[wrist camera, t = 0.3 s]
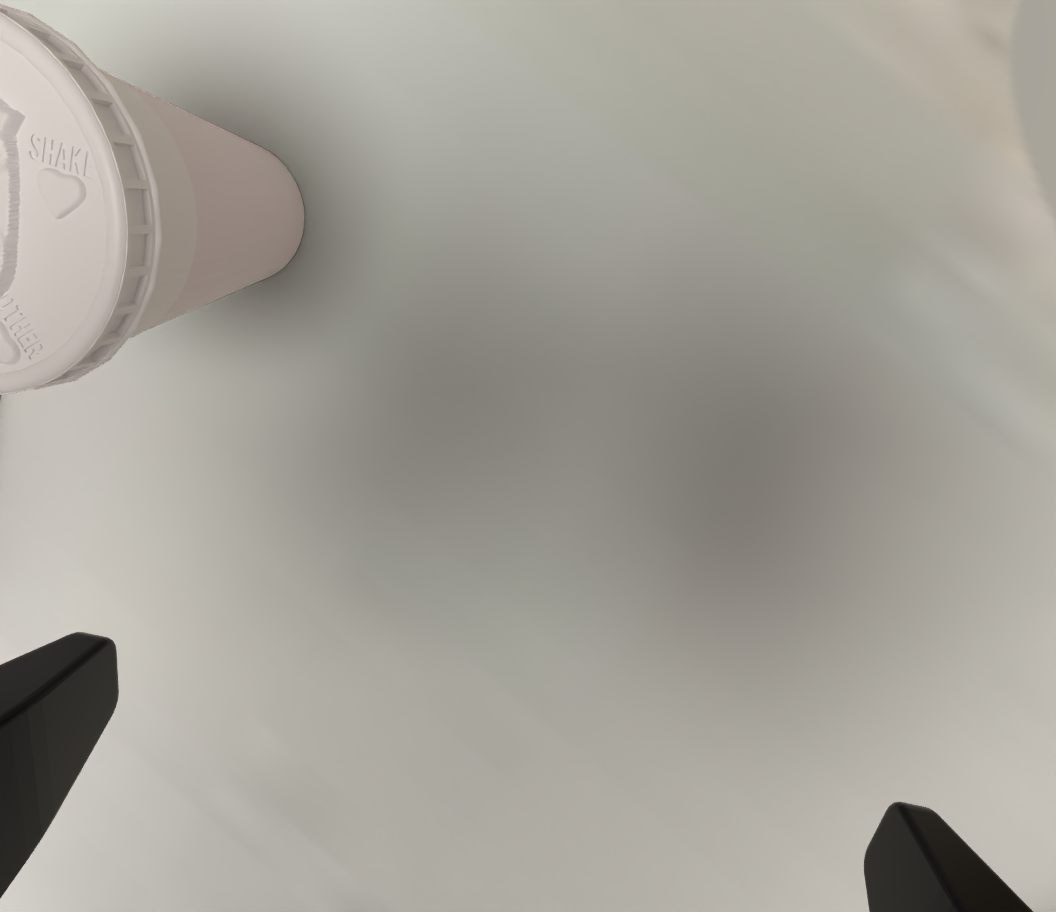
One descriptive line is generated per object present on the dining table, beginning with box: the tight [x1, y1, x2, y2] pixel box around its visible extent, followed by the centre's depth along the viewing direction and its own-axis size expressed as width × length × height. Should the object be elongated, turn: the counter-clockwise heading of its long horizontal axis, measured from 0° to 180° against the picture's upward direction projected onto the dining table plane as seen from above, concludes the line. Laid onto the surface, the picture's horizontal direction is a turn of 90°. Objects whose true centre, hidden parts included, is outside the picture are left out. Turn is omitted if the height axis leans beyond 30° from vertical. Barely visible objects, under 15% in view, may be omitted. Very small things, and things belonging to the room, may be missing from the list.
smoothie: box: [0, 4, 304, 395], centre depth 15 cm, size 6×6×14 cm
